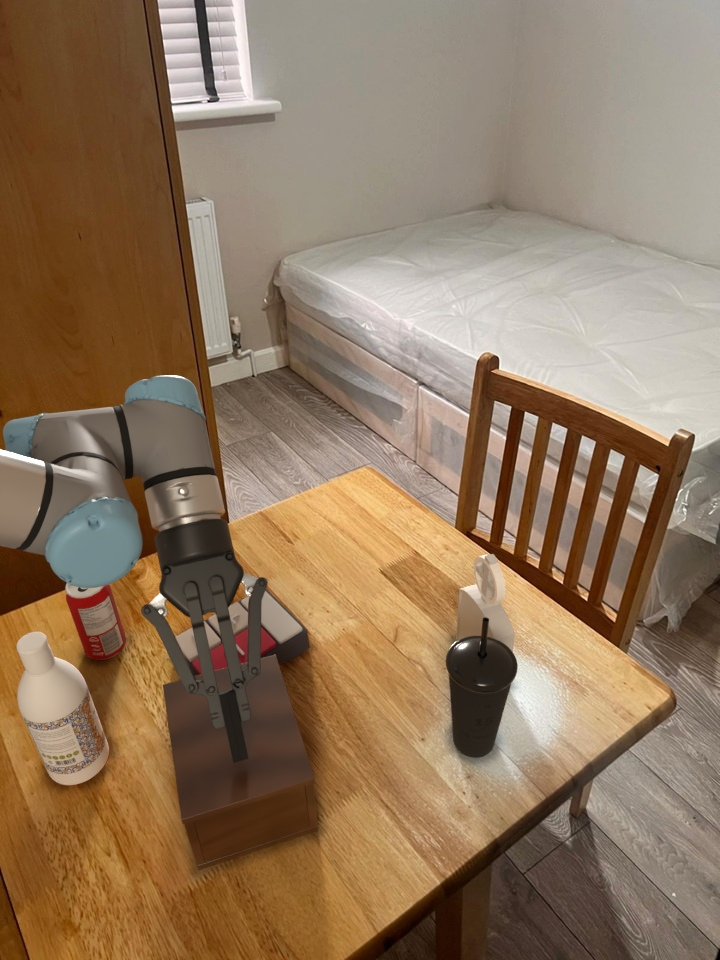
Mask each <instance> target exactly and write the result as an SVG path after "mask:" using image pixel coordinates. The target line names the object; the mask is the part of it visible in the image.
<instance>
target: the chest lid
mask: <svg viewBox="0 0 720 960" xmlns="http://www.w3.org/2000/svg"><path fill="white" fill-rule="evenodd" d="M240 665H241V669H242V670H244V669H245V668H246V667H247V662H246V663H242V664H240ZM214 672H215V677H216V681H217V686H218V691H219V693H220V692H224V691H227V690H231V689H232V684H231V680H230V675H229V671H228V667H227V668H224V669H220V670H216V671H214ZM283 676H284V675H283V674H282V670H281V667H280V664H278V660H277V657H276V655H272V656H269V657H265V658H261V671H260V674H259V675H258V676H257V677H255V678H254V679H252V680H251V681H249V682H248V683H247V685H246V693H247V697H248V702H249V707H250V711H251V718H250V720H247V721H244V722H241V726H242V730H243V735H244V740H245V744H246V749H247V754H248V758H249V759H245V760H242V761H239V762H235V763H233V759H232V754H231V750H230V745H229V740H228V736H227V731H226V727H223V728H220V729H215V728H214V726H213V724H212V719H211V714H210V710H209V705H208V700H207V698H206V697H205V696H203V695H198V694H189V693H187V692H186V690H185V688H184V686H183V684H182V681H181V679H178V680H175V681H172V682H167V683H164V684H162V690H163V697H164V704H165V711H166V717H167V718H166V719H167V726H168V732H169V739H170V746H171V754H172V761H173V769H174V775H175V783H176V790H177V797H178V804H179V810H180V811H179V812H180V819H181V822H182V824H183V825H184V824H186V823H189V822H192V821H195V820H198V819H202V818H205V817H208V816H211V815H214V814H217V813H221V812H224V811H227V810H230V809H233V808H236V807H240V806H243V805H246V804H249V803H252V802H255V801H259V800H262V799H265V798H268V797H271V796H274V795H278V794H281V793H284V792H287V791H290V790H293V789H297V788H300V787H303V786H306V785H309V784H312V783H314V784H315V783H316V779H315V775H314V772H313V769H312V766H311V762H310V759H309V756H308V753H307V750H306V746H305V743H304V741H303V740H304V739H303V736H302V734H301V730H300V728H299V724H298V721H297V718H296V715H295V712H294V708H293V706H292V701H291V699H290V695H289V693H288V690H287V686H286V682H285V680H284V677H283ZM195 678H196V681H203V677H202V674H201V675H197V676H195Z"/></svg>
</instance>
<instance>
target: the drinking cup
mask: <svg viewBox="0 0 720 960" xmlns="http://www.w3.org/2000/svg"><path fill="white" fill-rule="evenodd" d="M488 627H489V618H487V617H484V618H483V620H482V630H481V636H468V637H465V638H462V639H460V640H458V641H456V640H455V642H454V643H452V645H451V646H450V647H449V648H448V650H447V652H446V655H445V669H446V672H447V673H448V684H449V698H450V714H451V715H450V716H451V725H452V727H451V729H452V741H453V744H454V747H455V748H456V749H457V751H459V752H460V754H462V755H464V756H466V757H469V758H475V759H476V758H477V759H478V758H483V757H486V756H487V755H489V754H490V753H491V752H492V751H493V749H494V747H495V743H496V740H497V736H498V732H499V729H500V726H501V722H502V719H503V715H504V710H505V707H506V704H507V701H508V696H509V693H510V690H511V686H512V683H513V682H514V681H515V679H516V676H517V673H518V660H517V658H516V654H514V651H513V652H512V651H511V649H510V648H509V647H508V646H506V645H505V644H504V643H502V642H501V641H499V640H497V639H494V638H491V637H487V636H488Z"/></svg>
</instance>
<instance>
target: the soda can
mask: <svg viewBox="0 0 720 960" xmlns="http://www.w3.org/2000/svg"><path fill="white" fill-rule="evenodd" d="M64 589H65V600H66V604H67V607H68V609H69V612H70V615H71V617H72V618H71V619H72V620H73V623H74V626H75V630H76V632H77V635H78V638H79V640H80V642H81V646H82V649H83V652H84V654H85V655H86V656H87V658H89V659H91V660H95V661H105V660H109V659H112V658H113V657H115V656H117V655H118V654H120V653H121V651H122V650H123V648H124V647H125V646H126V642H127V638H126V633H125V631H124V627H123V624H122V621H121V617H120V614H119V610H118V607H117V604H116V601H115V598H114V594H113V591H112V587H111V584H109V585H106V586H101V587H96V588H81V587H76V586H72V585H70V584H68V583H67V582H66V584H65V587H64Z"/></svg>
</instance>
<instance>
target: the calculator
mask: <svg viewBox="0 0 720 960" xmlns="http://www.w3.org/2000/svg"><path fill="white" fill-rule="evenodd" d="M248 602H249V596H247V595H246V596H245V597H243V598H242V599H240V600H238V601H236V602H234V603H233V604H231V605H230V606H229V607H228V610H229V614H230V620H231V624H232V629H233V633H234V638H235V642H236V647H237V651H238V656H239V660H240V664H242V663H246V662H247V641H248ZM204 624H205V629H206V634H207V639H208V643H209V648H210V653H211V658H212V662H213V667H214V671H216V670H220V669H224V668H227V667H228V666H227V662H226V657H225V652H224V648H223V643H222V639H221V634H220V630H219V625H218V621H217V616H216V613H214V614H213V615H211V616H209V617H208V618H207V619H204ZM308 633H309V632H308V629H307V628H306V627H305V626H304V625H303V624H302V623H301V622H300V621H299V620H298V619H297V618H296V617H295V616H294V615H293V613H291V612H290V611H289V610H288V609H287V608H286V607H285V606H284V605H283V604H282V603H281V602H280V601H279V600H278V599H277V598H276V597H275V596H274V595H273V594H272V593H271V592H270V591H269V590H268V589H267V588H266V590H265V593H264V596H263V598H262V606H261V658H265V657H269V656H272V655H276V657H277V660H278V664H279V665H281V664H285V663H289V662H292V661H293V660H294V659H296V658H298V657H299V656H300V655H302V654H304V653H305V652H307V651H308V650H309V649H310V648H311V647H310V646H311V645H310V640H309V634H308ZM175 637H176V639H177V641H178V643H179V645H180V648H181V650H182V652H183V654H184V656H185V658H186V660H187V662H188V664H189V666H190V668H191V670H192V672H193V674H194V676H197V675H201V674H202V672H201V667H200V662H199V657H198V653H197V648H196V643H195V638H194V633H193V629H192V627H190V628H188V629H186V630H185V631H183V632H181V633H180V634H178V635H175Z"/></svg>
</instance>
